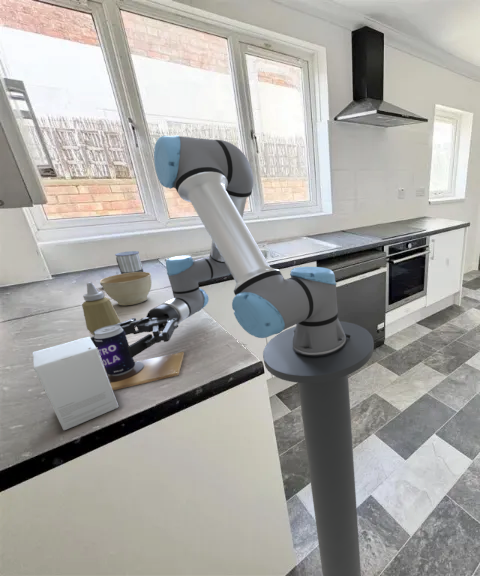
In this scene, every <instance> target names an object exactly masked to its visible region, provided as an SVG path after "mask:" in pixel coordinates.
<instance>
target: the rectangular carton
mask: <svg viewBox="0 0 480 576" xmlns="http://www.w3.org/2000/svg"><path fill="white" fill-rule="evenodd" d="M32 359H33V371H34V372H35V374H36V376H37V378H38V380H39V382H40V384H41V386H42V388H43V390H44V392H45V395H46V397H47V398H48V399H47V400H48V401H49V403H50V405H51V407H52V409H53V411H54V414H55V416H56V418H57V420H58V422H59V424H60V426H61V428H62V430H63V431H66V430H70V429H71V428H73V427H76V426H78V425H82V424H83V423H85V422H88V421H90V420H92V419H96V418H97V417H100V416H103V415H105V414H106V413H109V412H111V411H113V410H116V409H118V408H119V403H118V401H117V398H116V395H115V393H114V390H112V387H111V384H110V382H109V379H108V376H107V374H106V371H105V369H104V368H105V367H104V364H103V361H102V359H101V356H100V353H99V351H98V348H96V346H95V345H94V343H93V342H92V340H91V337H90V336H89V335H88V336H85V337H81V338H77V339H75V340H71V341H68V342H63V343H61V344H56V345H53V346H50V347H46V348H43V349H39V350H36V351H32Z"/></svg>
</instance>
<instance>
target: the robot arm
mask: <svg viewBox="0 0 480 576" xmlns="http://www.w3.org/2000/svg"><path fill="white" fill-rule="evenodd" d="M153 160H154V161H153V163H154V169H155V173H156V176H157V179H158V181H159V183H160V185H162V187H164V188H166V189H170V190H171V189H175V190H176V192H177V194H178V195H179V197H180V198H181V199H182V200H183V201H185V202H188V203H191V205H192V207H193V209H194V211H195V212H196V214H197V215H198V217H199V219H200V221H201V223H202V225H203V226H204V228H205V230H206V232H207V233H208V236H209V237H210V239H211V244H210V252H209V256H207V257H203V258H198V259H193V257H192V256H191V255H177V256H172V257H169V258H167V259H166V261H165V268H166V274H167V277H168V280H169V284H170V288H171V291H172V295H173V298H171V299H169V300H166V301H164V302H163V303H161V304H159V305H157V306H155V307H153V308H151V309H150V310H149V311H148V312H147V314H146V317H141V318H140V319H137V318H136V317H132V318H129V319H126V320H125V321H120V323H118V324H115V325H120V326H121V328H122V329H123V330H124V332H125V335H126V336H128V335H138V334H142V333H148V334H147V335H145V336H144V337H141V338H140V339H138V340H136V341H135V342H133V343H131V344H129V346H128V350H129V353H130V356H131V357H133V358H135V357H136V356H138V355H139V354H141V353H143V352H144V351H145V350H147V349H149V348H151V347H152V346H153V345H155V344H159V343H161V342H162V341H163V342H164V343H168V342H169V341H170V340H171V337H172V336H173V334H174V332H175V330H176V329H178V327H179V325H180V324H181V322H183V321H185V320H186V319H188V318H190V317H191V316H193V315H194V314H196V313H198V312H200V311H201V310H203V309H204V308H205V307H206V306H207V305H208V303H209V300H210V299H209V295H208V294H207V292H206V291H205V290H204V289H202V288H201V287H200V285H199V283H202V282H206V281H209V280H213V279H214V280H215V279H217V278H222V277H226V276H230V275H231V276H232V278H233V279H234V281H235V285H234V289H233V294H234V297H233V299H232V302H231V307H232V310H233V315H234V317H235V319H236V321H237V322H238V324H239V326H240V327H241V328H242V329H243V330H244V332H246V333H247V334H249V335H251V336H253V337H255V338H257V339H266V338H269V337H271V336H274V335H278V334H280V333H281V332H283V331H285V330H287V329H290V328H292V327H294V326H296V328H295V330H294V337H293V350H294V352H295V353H297V354H298V355H300V356H303V357H308V358H319V357H326V356H329V355H332V354H335V353H337V352H339V351H340V350H341V349H343V347H344V346H345V344H346V337H347V338H350V335H348V334H345V333H344V330H343V328H342V326H341V324H340V319H339V312H338V311H339V309H338V297H337V296H338V295H337V294H338V293H337V281H336V275H335V273H334V271H333V270H332V269H330V268H327V267H321V266H298V267H294V268H292V269H291V270H290V274H289V276H290V277H288V278H285V277H284V275H283V274H282V272H281V271H280V269H278V268H274V267H272V266H270V264H269V262H268V261H267V259H266V258H265V256H264V254H263V252H262V250H261V249H260V246H259V245H258V243H257V241H256V240H255V238H254V236H253V235H252V233H251V231H250V230H249V227H248V226H247V224H246V222H245V220H244V219H243V217H244V213H245V208H246V203H247V199H248V198H249V197H251V196H252V193H253V189H254V188H253V187H254V173H253V170H252V166H251V163H250V161H249V160H248V158H247V156H246V155H245V153H244V152H243V151H242V150H241V149H240V148H239V147H238V146H236V145H234V144H233V143H232V142H229V141H226V140H222V139H209V138H198V137H190V136H181V135H177V134H176V135H161V136H160V137H158V139H157V140H156V142H155V145H154V149H153ZM136 328H137V330H136ZM94 332H95V331H94ZM94 332H93V333H94ZM151 333H152V334H151ZM94 335H95V333H94ZM90 338H91V340H92V342H93V343H94V345H95V346H96V348H97V345H96V343H95V340H94V336H91V337H90ZM97 349H98V348H97Z"/></svg>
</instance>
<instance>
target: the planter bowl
mask: <svg viewBox="0 0 480 576" xmlns="http://www.w3.org/2000/svg"><path fill="white" fill-rule="evenodd" d="M100 283H101V284H100ZM99 284H100V286H101V285H102V289H103V291H104V292H105V293H106V295H107V296H108V298H111V300H113V301H115V302H116V303H117V304H118V305H119V306H132V305H137V304H141V303H144V302H145V301H147V300H148V295H149V293H150V292H151V289H152V274H151V272H148V271H143V272H131V273H124V274H121V273H119V274H114V275H110V276H106V277H103V278H101V279H100V280H99Z"/></svg>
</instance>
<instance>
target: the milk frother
mask: <svg viewBox="0 0 480 576" xmlns="http://www.w3.org/2000/svg"><path fill="white" fill-rule="evenodd" d="M139 253H140V252H139V251H136V250H132V251H122V252H117V253H115V254H114V256H116V257H115V259H116V260H115V261H116V264H117V267H118V268H119V271H120V274H124V273H131V272H144V268H143V264H142V261H141V257H140V254H139ZM99 284H100V286H102V285H101V283H100V282H99ZM102 287H103V286H102Z"/></svg>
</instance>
